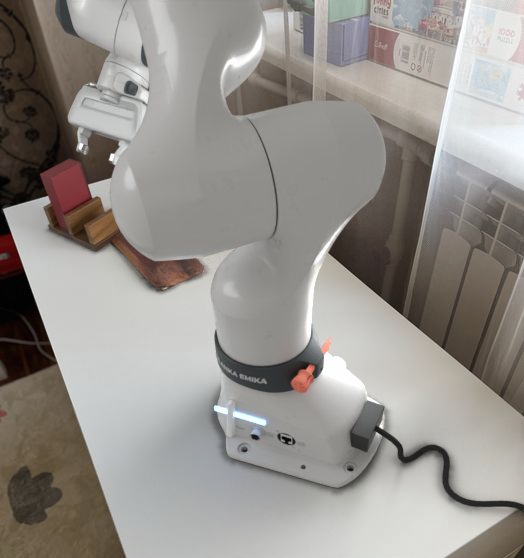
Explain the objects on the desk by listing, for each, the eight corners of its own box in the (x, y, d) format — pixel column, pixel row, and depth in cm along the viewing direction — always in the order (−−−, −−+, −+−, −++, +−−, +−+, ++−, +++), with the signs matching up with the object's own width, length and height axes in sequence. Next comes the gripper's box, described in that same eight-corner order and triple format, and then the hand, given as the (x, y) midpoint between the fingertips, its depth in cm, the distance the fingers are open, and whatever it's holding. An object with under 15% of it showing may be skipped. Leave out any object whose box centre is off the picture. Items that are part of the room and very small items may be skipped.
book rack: (130, 229, 106) (124, 205, 102) (96, 252, 101) (88, 228, 97) (84, 209, 112) (76, 186, 108) (49, 230, 107) (40, 207, 103)
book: (97, 213, 108) (81, 162, 100) (69, 230, 104) (50, 178, 96) (86, 209, 109) (69, 158, 102) (59, 225, 106) (39, 174, 98)
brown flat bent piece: (96, 222, 106) (140, 200, 109) (100, 231, 108) (143, 209, 110) (156, 290, 90) (206, 261, 93) (160, 299, 92) (209, 271, 95)
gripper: (73, 71, 104) (50, 140, 106) (148, 90, 95) (121, 165, 97) (97, 88, 109) (74, 153, 111) (170, 107, 100) (144, 177, 102)
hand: (97, 159), depth 104 cm, fingers open, 8 cm apart
